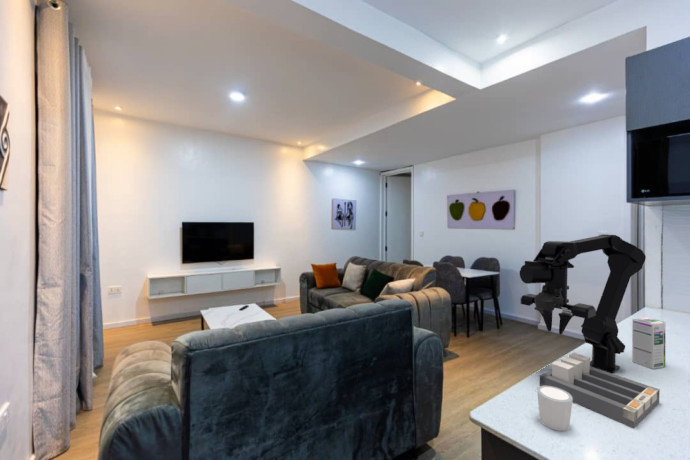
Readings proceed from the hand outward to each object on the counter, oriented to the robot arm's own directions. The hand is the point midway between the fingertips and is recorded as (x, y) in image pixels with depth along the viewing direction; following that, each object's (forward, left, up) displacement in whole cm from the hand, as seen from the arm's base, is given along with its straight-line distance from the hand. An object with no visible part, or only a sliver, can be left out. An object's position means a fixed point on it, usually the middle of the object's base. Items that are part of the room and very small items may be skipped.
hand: (555, 332), depth 96 cm
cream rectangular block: (+10, +6, -10) cm, 16 cm away
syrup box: (-30, +14, -12) cm, 35 cm away
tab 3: (0, +7, -10) cm, 12 cm away
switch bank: (+5, +12, -12) cm, 18 cm away
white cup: (+27, +12, -12) cm, 32 cm away
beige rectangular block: (+5, +7, -10) cm, 13 cm away
